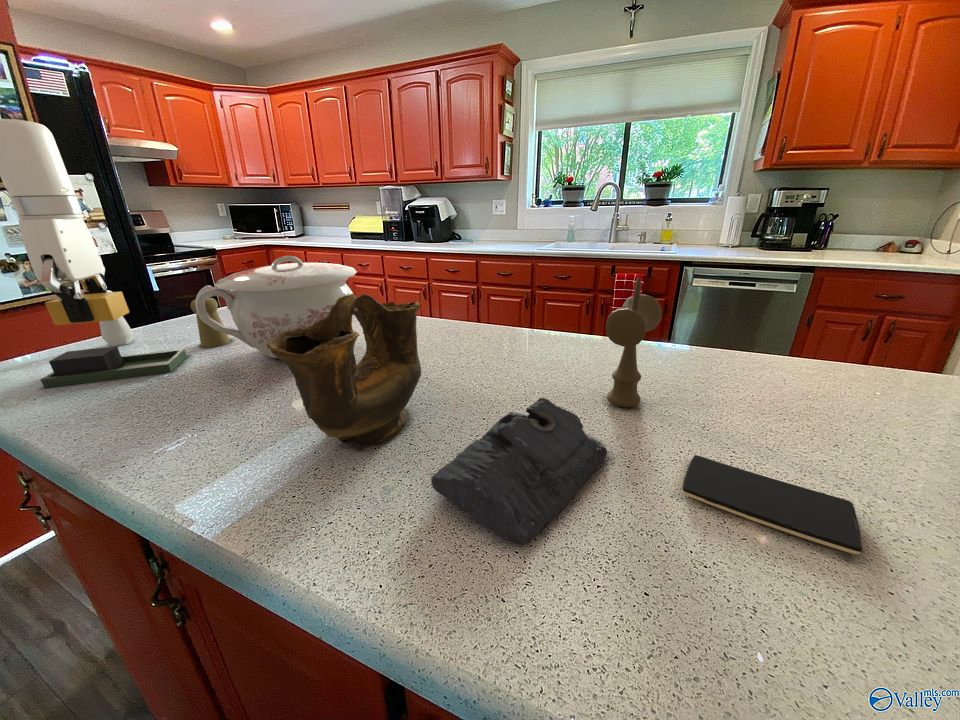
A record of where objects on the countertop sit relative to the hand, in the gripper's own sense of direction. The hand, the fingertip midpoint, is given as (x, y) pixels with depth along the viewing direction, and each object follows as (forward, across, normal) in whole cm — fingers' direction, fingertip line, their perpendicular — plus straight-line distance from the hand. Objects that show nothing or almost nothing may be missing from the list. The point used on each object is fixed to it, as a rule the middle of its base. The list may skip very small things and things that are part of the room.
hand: (93, 315), depth 71 cm
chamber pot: (+13, -7, +32) cm, 36 cm away
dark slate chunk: (+13, +48, +63) cm, 80 cm away
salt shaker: (+13, -28, -12) cm, 33 cm away
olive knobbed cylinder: (+13, -19, +11) cm, 26 cm away
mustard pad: (0, 0, 0) cm, 0 cm away
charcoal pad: (+13, -7, -8) cm, 16 cm away
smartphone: (+13, +62, +85) cm, 106 cm away
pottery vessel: (+13, +33, +46) cm, 58 cm away
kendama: (+13, +38, +85) cm, 94 cm away
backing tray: (+13, -7, -3) cm, 15 cm away
